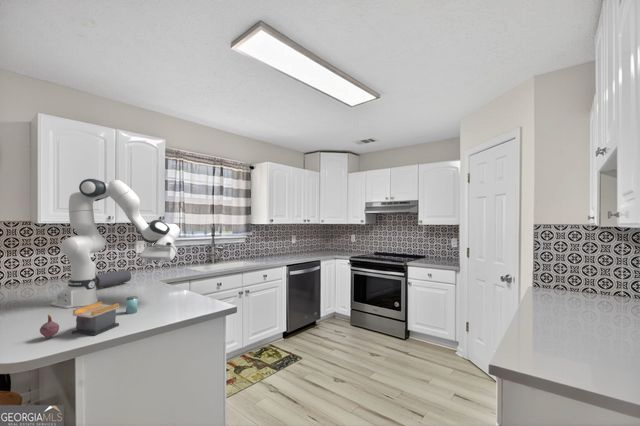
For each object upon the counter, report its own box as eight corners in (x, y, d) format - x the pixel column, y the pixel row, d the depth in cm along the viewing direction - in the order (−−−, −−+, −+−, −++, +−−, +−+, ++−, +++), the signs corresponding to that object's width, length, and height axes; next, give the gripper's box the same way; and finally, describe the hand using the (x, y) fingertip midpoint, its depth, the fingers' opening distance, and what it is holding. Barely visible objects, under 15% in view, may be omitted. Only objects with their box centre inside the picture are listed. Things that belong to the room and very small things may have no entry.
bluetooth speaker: (122, 282, 221) (123, 269, 222) (131, 283, 218) (132, 270, 218) (90, 289, 200) (90, 274, 200) (99, 290, 197) (100, 275, 197)
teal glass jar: (123, 313, 155) (124, 298, 155) (131, 310, 160) (131, 295, 160) (131, 314, 154) (132, 299, 154) (139, 311, 159) (139, 296, 159)
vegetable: (48, 335, 126) (48, 311, 126) (63, 335, 126) (63, 311, 127) (35, 341, 120) (35, 316, 120) (50, 341, 120) (51, 316, 120)
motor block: (65, 333, 128) (65, 309, 128) (94, 322, 142) (95, 300, 142) (93, 336, 126) (93, 312, 126) (120, 324, 139) (121, 303, 140)
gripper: (145, 242, 179) (131, 261, 169) (175, 243, 175) (163, 262, 165) (150, 249, 183) (137, 267, 173) (180, 250, 179) (168, 269, 170)
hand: (150, 265), depth 169 cm, fingers open, 8 cm apart
